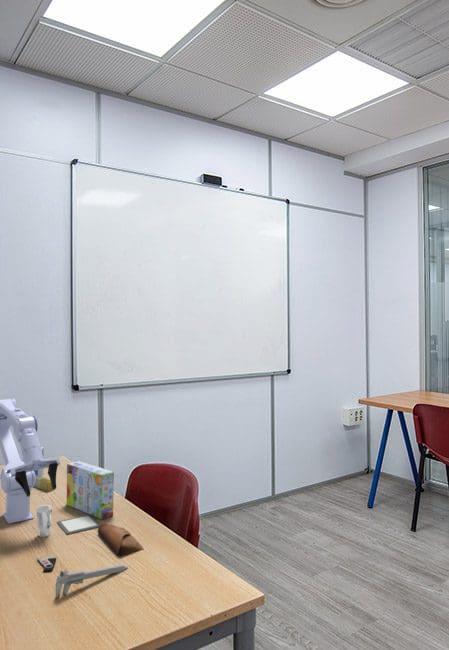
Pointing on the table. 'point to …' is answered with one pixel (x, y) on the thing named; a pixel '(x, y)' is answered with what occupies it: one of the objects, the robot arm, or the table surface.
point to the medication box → (43, 483)
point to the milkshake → (44, 520)
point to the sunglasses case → (119, 539)
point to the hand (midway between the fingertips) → (42, 491)
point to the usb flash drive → (48, 563)
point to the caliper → (82, 577)
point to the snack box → (90, 489)
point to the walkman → (40, 471)
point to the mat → (78, 524)
